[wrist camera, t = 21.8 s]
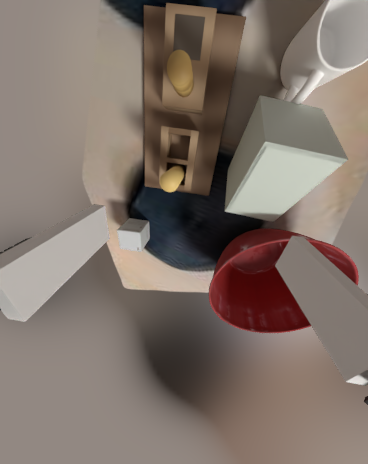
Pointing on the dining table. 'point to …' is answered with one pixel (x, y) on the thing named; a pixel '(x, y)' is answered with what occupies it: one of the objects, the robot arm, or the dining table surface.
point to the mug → (325, 47)
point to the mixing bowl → (263, 282)
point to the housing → (280, 158)
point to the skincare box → (133, 234)
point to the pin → (172, 178)
